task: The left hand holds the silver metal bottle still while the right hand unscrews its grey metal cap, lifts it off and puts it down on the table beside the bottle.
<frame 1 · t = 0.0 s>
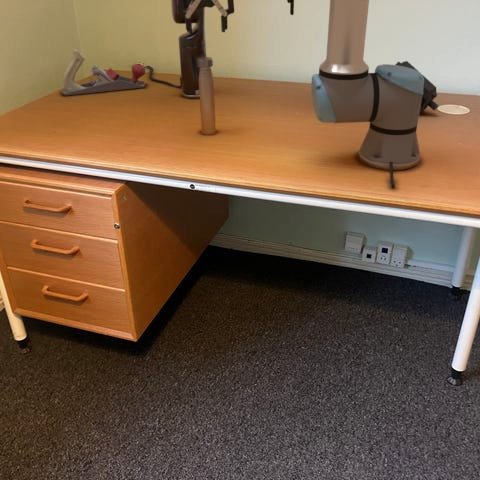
left hand: (206, 32, 137), 29 cm above the table, tool pointing down, fingers open, 8 cm apart
right hand: (313, 13, 166), 28 cm above the table, tool pointing down, fingers open, 13 cm apart
bottle: (208, 132, 158), on the table
cap: (205, 59, 147), point 21 cm above the table, screwed on, not yet turned
tool: (404, 110, 172), on the table
hand plane: (105, 89, 198), on the table
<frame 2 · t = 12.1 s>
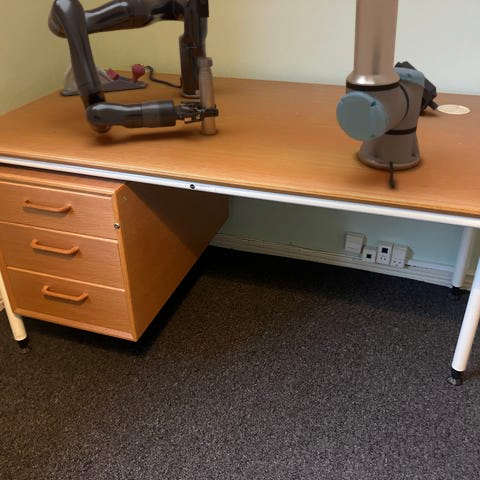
left hand: (216, 109, 155), 7 cm above the table, tool horizontal, fingers closed on bottle, 4 cm apart
right hand: (202, 14, 141), 33 cm above the table, tool pointing down, fingers open, 6 cm apart
bottle: (208, 132, 158), on the table, touching left hand
everything else where it was.
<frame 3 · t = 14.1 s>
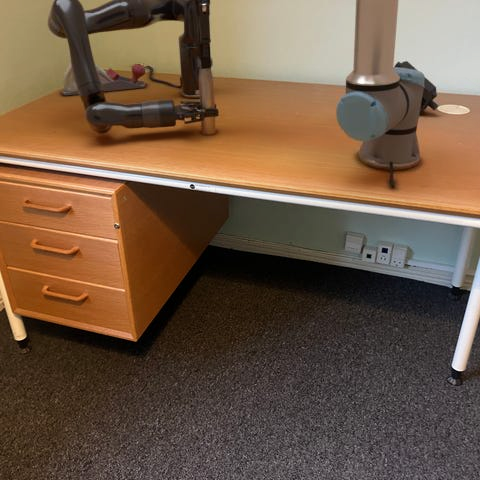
left hand: (216, 109, 155), 7 cm above the table, tool horizontal, fingers closed on bottle, 4 cm apart
right hand: (205, 66, 148), 19 cm above the table, tool pointing down, fingers closed on cap, 4 cm apart
bottle: (208, 132, 158), on the table, touching left hand
cap: (205, 59, 147), point 21 cm above the table, screwed on, not yet turned, touching right hand
everything else where it was.
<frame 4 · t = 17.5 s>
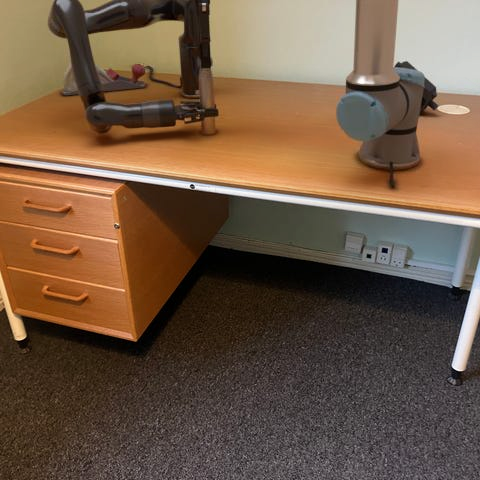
left hand: (216, 109, 155), 7 cm above the table, tool horizontal, fingers closed on bottle, 4 cm apart
right hand: (205, 65, 148), 19 cm above the table, tool pointing down, fingers closed on cap, 4 cm apart
bottle: (208, 132, 158), on the table, touching left hand
cap: (204, 59, 147), point 21 cm above the table, turned 92° so far, risen 0.1 cm, still on its thread, touching right hand
everything else where it was.
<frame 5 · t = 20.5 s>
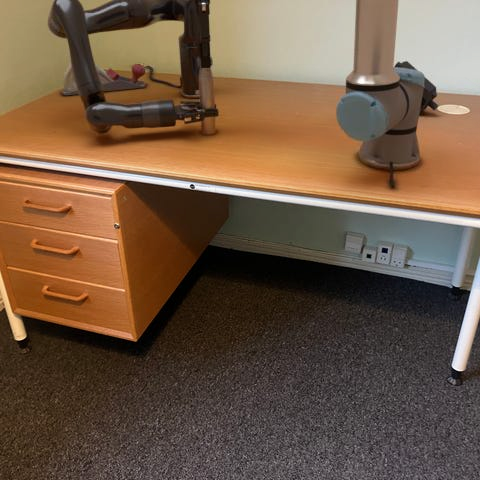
left hand: (216, 109, 155), 7 cm above the table, tool horizontal, fingers closed on bottle, 4 cm apart
right hand: (205, 65, 148), 19 cm above the table, tool pointing down, fingers closed on cap, 4 cm apart
bottle: (208, 132, 158), on the table, touching left hand
cap: (204, 59, 147), point 21 cm above the table, turned 184° so far, risen 0.2 cm, still on its thread, touching right hand
everything else where it was.
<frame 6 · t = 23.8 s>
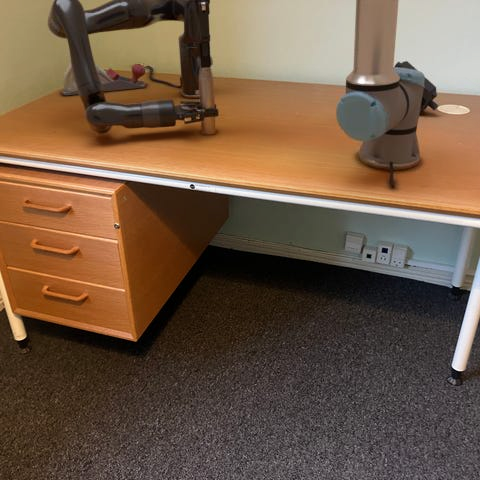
left hand: (216, 109, 155), 7 cm above the table, tool horizontal, fingers closed on bottle, 4 cm apart
right hand: (205, 65, 148), 20 cm above the table, tool pointing down, fingers closed on cap, 4 cm apart
bottle: (208, 132, 158), on the table, touching left hand
cap: (204, 58, 147), point 21 cm above the table, turned 276° so far, risen 0.3 cm, still on its thread, touching right hand
everything else where it was.
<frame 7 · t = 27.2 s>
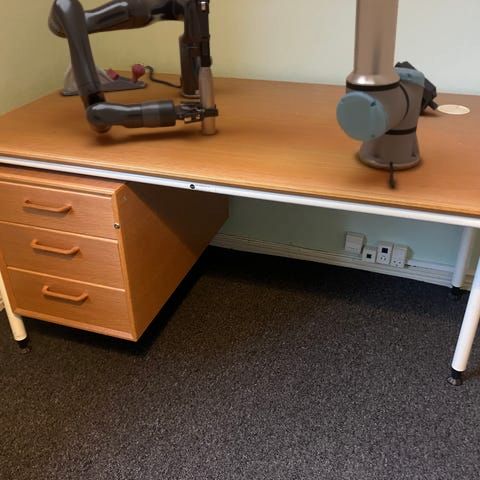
left hand: (216, 109, 155), 7 cm above the table, tool horizontal, fingers closed on bottle, 4 cm apart
right hand: (205, 64, 148), 20 cm above the table, tool pointing down, fingers closed on cap, 4 cm apart
bottle: (208, 132, 158), on the table, touching left hand
cap: (204, 58, 147), point 21 cm above the table, turned 368° so far, risen 0.4 cm, still on its thread, touching right hand
everything else where it was.
when the right hand's fingers open (2 cm above the table, at t = 35.2 s): cap drops 2 cm, point 2 cm above the table.
when the left hand's fingers open (7 cm above the table, at t = 36.5 s): bottle stays where it is, on the table.
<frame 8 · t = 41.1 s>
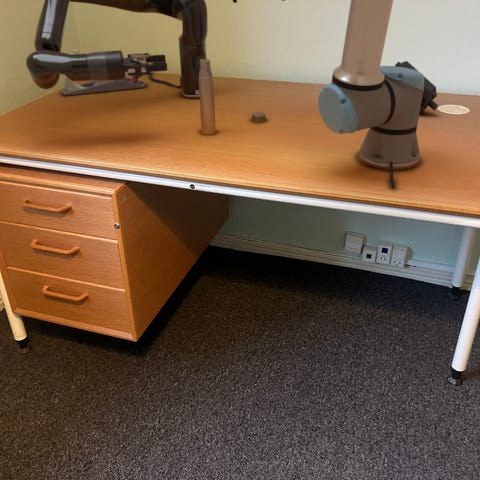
left hand: (166, 62, 146), 21 cm above the table, tool horizontal, fingers open, 8 cm apart
right hand: (258, 1, 148), 34 cm above the table, tool pointing down, fingers open, 13 cm apart
bottle: (208, 132, 158), on the table
cap: (258, 115, 165), point 2 cm above the table, off its thread
everything else where it was.
at the end: cap came off its thread; cap point 1.6 cm above the table; the left hand is holding nothing; the right hand is holding nothing; bottle tilted 0°; bottle moved 0.0 cm from its start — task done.
